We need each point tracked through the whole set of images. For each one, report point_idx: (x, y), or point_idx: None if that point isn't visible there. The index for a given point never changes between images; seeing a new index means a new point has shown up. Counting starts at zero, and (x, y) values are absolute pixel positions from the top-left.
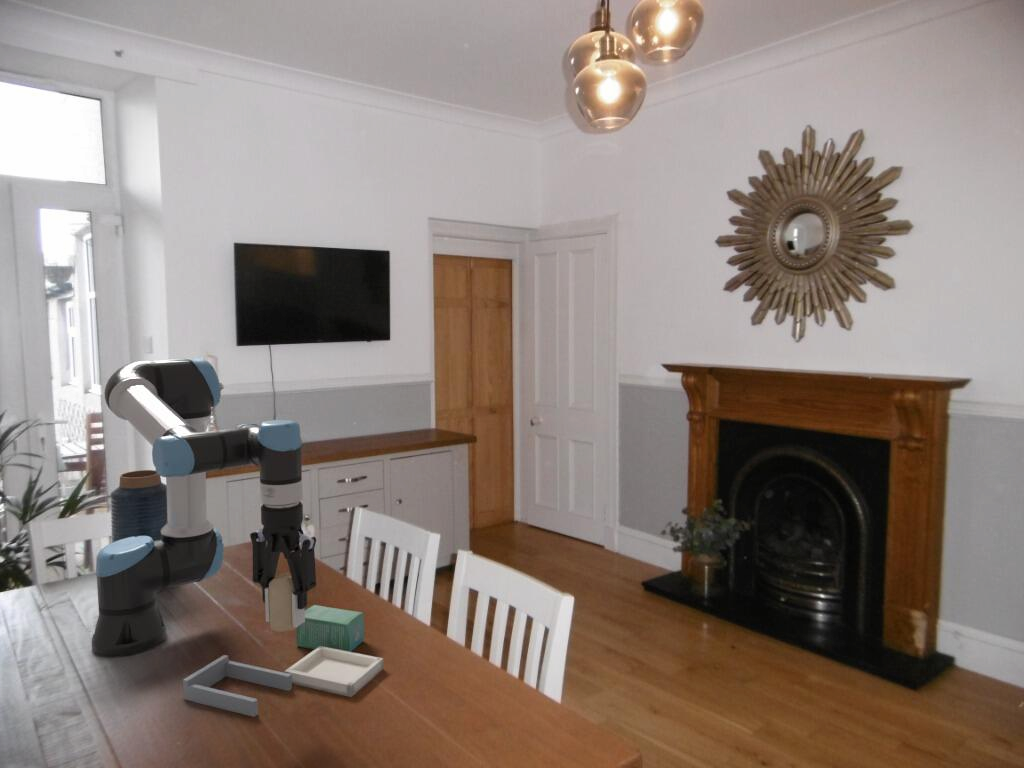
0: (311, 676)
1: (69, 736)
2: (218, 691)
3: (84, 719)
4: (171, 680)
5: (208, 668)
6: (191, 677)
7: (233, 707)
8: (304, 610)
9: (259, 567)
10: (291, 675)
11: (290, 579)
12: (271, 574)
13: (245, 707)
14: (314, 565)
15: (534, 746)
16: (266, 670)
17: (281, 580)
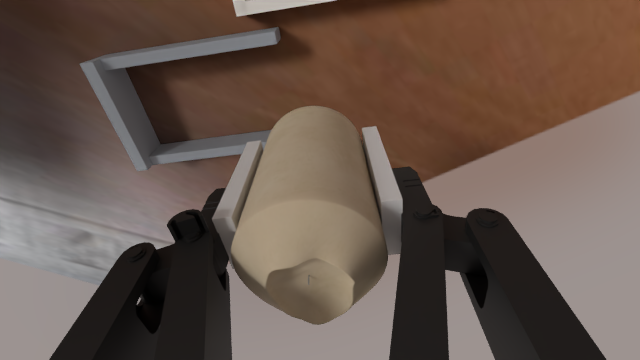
0: (312, 2)
1: None
2: (214, 153)
3: (111, 238)
4: (67, 124)
5: (123, 121)
6: (139, 159)
7: None
8: (383, 146)
9: (145, 353)
10: (275, 32)
11: (360, 283)
12: (219, 296)
13: None
14: (585, 339)
15: None
16: (211, 48)
17: (335, 314)
